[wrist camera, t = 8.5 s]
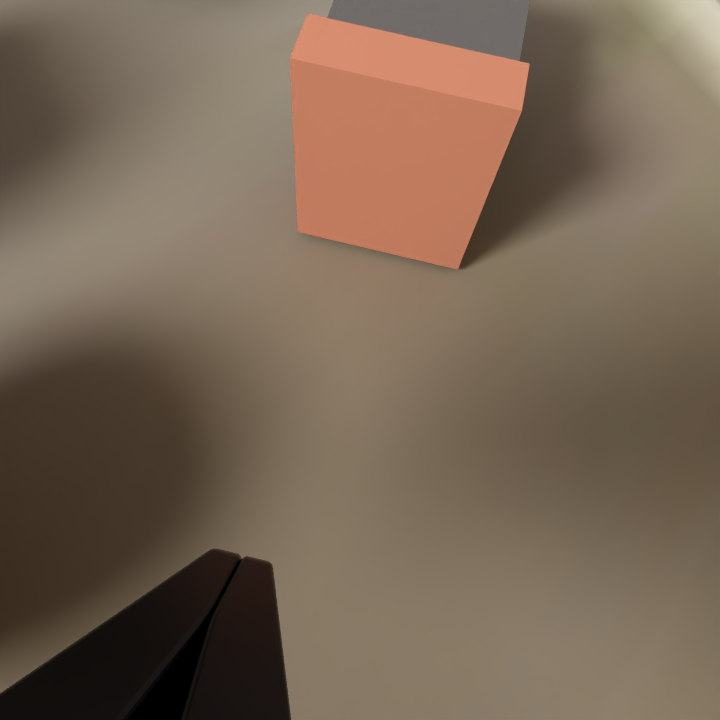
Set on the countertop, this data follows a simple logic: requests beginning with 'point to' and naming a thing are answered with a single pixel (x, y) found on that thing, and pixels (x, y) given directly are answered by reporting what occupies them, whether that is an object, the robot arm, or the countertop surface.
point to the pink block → (397, 137)
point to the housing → (445, 21)
